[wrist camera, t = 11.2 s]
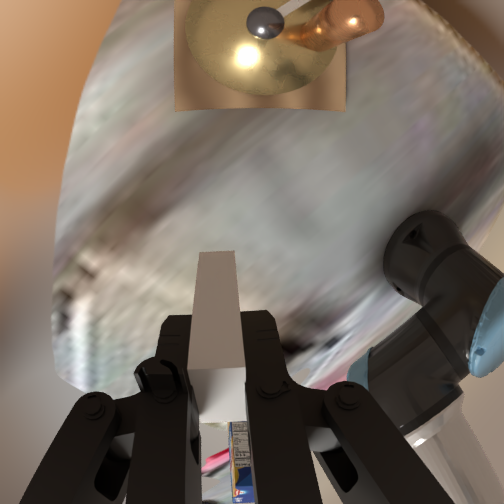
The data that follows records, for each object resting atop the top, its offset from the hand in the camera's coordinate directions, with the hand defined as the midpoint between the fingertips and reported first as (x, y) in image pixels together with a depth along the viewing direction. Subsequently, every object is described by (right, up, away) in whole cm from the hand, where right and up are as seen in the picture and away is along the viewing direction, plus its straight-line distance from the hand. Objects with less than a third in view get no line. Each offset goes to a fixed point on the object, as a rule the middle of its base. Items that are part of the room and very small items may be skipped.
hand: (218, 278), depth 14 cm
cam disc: (+3, +26, +14) cm, 30 cm away
